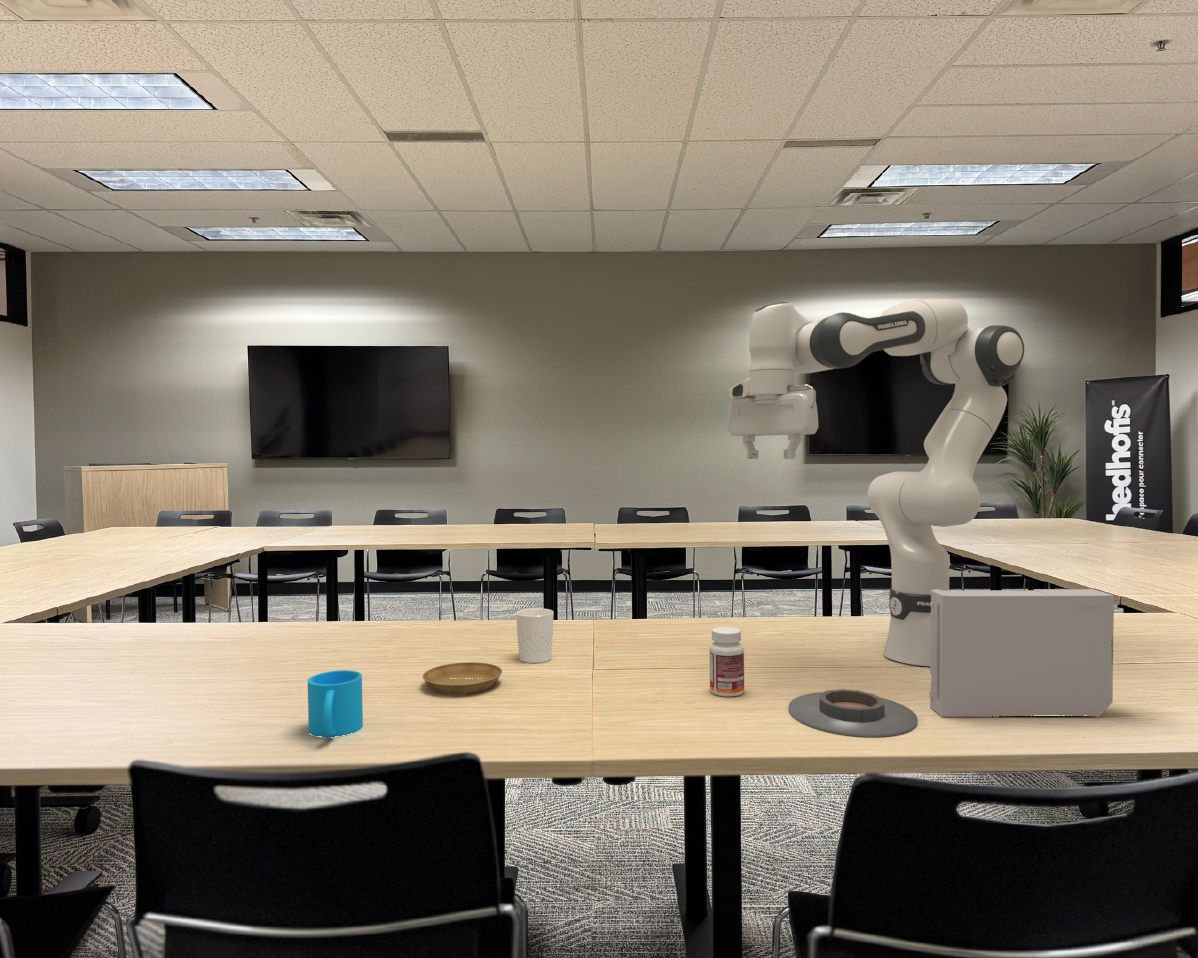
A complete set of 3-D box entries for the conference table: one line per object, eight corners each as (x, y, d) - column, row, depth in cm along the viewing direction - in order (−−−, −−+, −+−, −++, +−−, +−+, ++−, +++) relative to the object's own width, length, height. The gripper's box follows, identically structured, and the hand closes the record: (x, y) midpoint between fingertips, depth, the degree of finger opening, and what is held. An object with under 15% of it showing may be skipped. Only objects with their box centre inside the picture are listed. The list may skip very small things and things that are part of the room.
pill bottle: (751, 693, 132) (751, 630, 132) (726, 699, 129) (725, 635, 128) (727, 684, 137) (727, 624, 137) (702, 690, 134) (702, 628, 134)
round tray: (868, 690, 133) (868, 676, 133) (945, 729, 114) (945, 713, 114) (767, 700, 128) (767, 685, 128) (830, 743, 109) (830, 726, 109)
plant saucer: (406, 694, 134) (406, 680, 134) (449, 671, 148) (449, 658, 148) (478, 703, 129) (477, 688, 129) (515, 678, 143) (515, 665, 143)
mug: (314, 721, 120) (313, 671, 120) (366, 717, 122) (365, 668, 121) (298, 750, 108) (296, 695, 108) (355, 745, 110) (354, 691, 110)
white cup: (509, 662, 154) (509, 614, 153) (527, 652, 161) (527, 607, 161) (543, 665, 151) (543, 617, 150) (560, 655, 158) (559, 609, 158)
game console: (926, 705, 125) (926, 589, 125) (1089, 705, 124) (1090, 588, 124) (940, 717, 119) (941, 595, 119) (1112, 718, 118) (1113, 595, 118)
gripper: (826, 384, 135) (825, 459, 136) (745, 392, 152) (744, 459, 152) (803, 381, 132) (802, 459, 132) (723, 390, 148) (722, 458, 149)
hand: (770, 459), depth 142 cm, fingers open, 8 cm apart
